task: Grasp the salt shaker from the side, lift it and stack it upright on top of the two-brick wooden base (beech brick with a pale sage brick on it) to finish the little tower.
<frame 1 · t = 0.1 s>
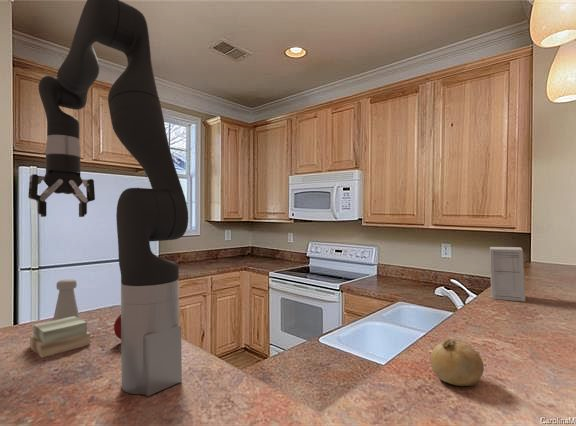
hand: (63, 216, 85), 29 cm above the countertop, tool pointing down, fingers open, 8 cm apart
onion 2: (456, 382, 55), on the countertop
brick base: (60, 345, 73), on the countertop
onion: (128, 342, 75), on the countertop
supplement box: (507, 298, 110), on the countertop
salt shaker: (66, 331, 84), on the countertop
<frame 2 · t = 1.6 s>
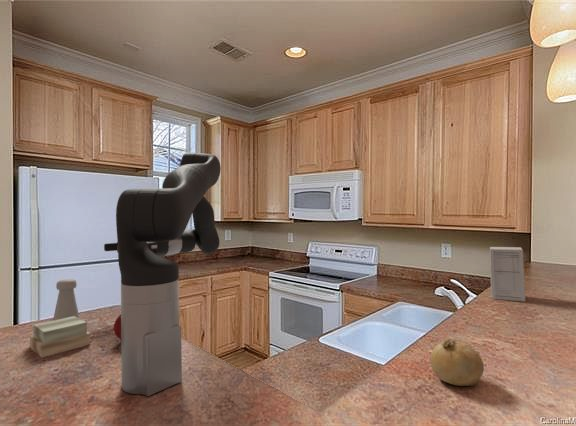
hand: (110, 248, 92), 20 cm above the countertop, tool horizontal, fingers open, 8 cm apart
nothing on the countertop moved.
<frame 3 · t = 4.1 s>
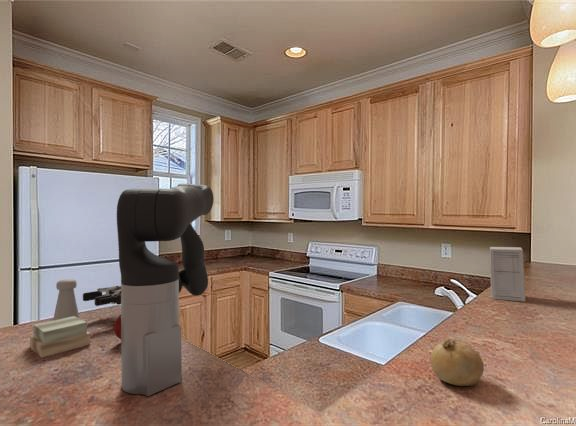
hand: (88, 299, 88), 7 cm above the countertop, tool horizontal, fingers open, 8 cm apart
nothing on the countertop moved.
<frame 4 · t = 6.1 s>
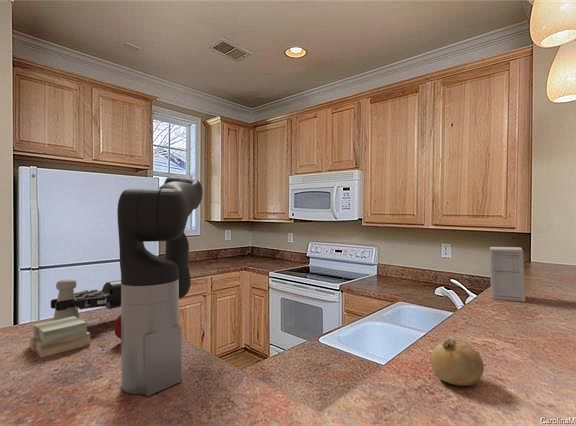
hand: (53, 305, 82), 7 cm above the countertop, tool horizontal, fingers closed on salt shaker, 3 cm apart
salt shaker: (66, 331, 84), on the countertop, touching gripper
everything else where it was.
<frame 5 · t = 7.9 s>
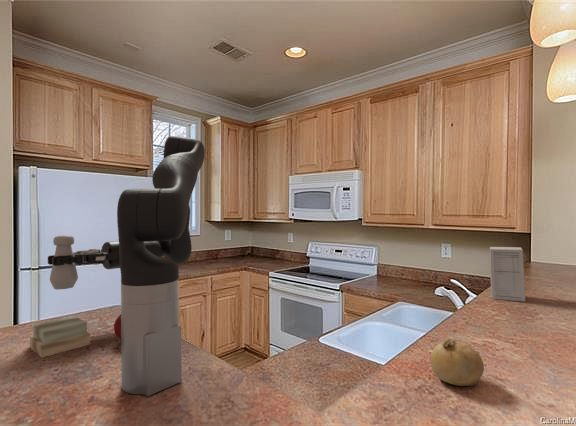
hand: (50, 260, 79), 18 cm above the countertop, tool horizontal, fingers closed on salt shaker, 3 cm apart
salt shaker: (64, 288, 81), point 11 cm above the countertop, touching gripper
everything else where it was.
when the fingers open (13 cm above the countertop, at t = 9.8 s): salt shaker stays where it is, resting on brick base.
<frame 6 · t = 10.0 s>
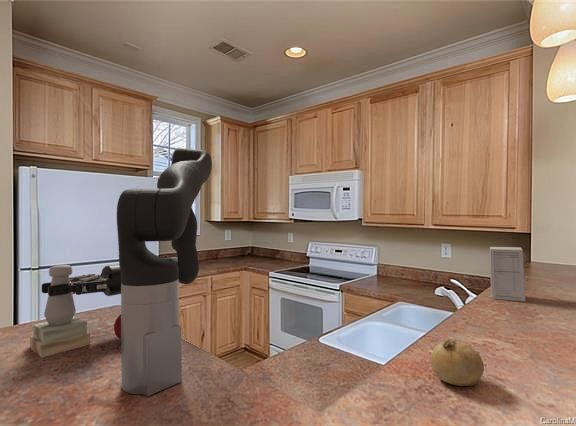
hand: (45, 289, 71), 13 cm above the countertop, tool horizontal, fingers open, 4 cm apart
salt shaker: (60, 324, 73), point 5 cm above the countertop, touching brick base
everything else where it was.
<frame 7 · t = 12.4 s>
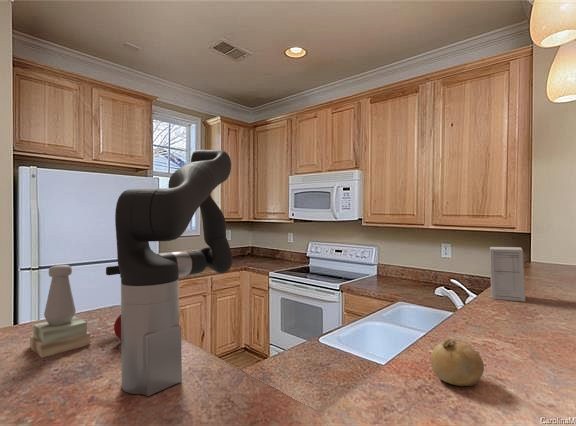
hand: (113, 272, 82), 15 cm above the countertop, tool horizontal, fingers open, 8 cm apart
nothing on the countertop moved.
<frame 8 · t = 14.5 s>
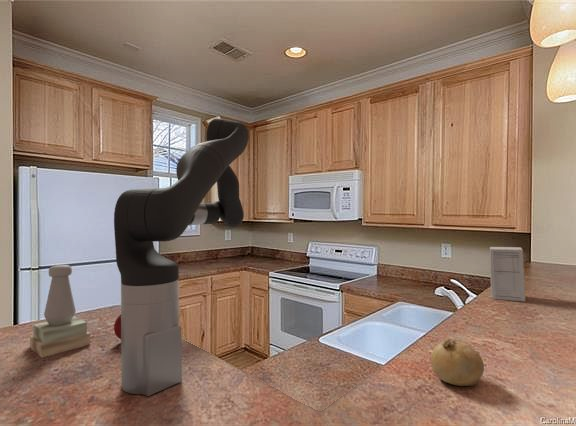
hand: (137, 213, 89), 30 cm above the countertop, tool horizontal, fingers open, 8 cm apart
nothing on the countertop moved.
at the end: salt shaker inside the target area on the brick base (0.0 cm from its centre), point 4.8 cm above the brick base's base; salt shaker tilted 0°; the gripper is holding nothing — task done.
